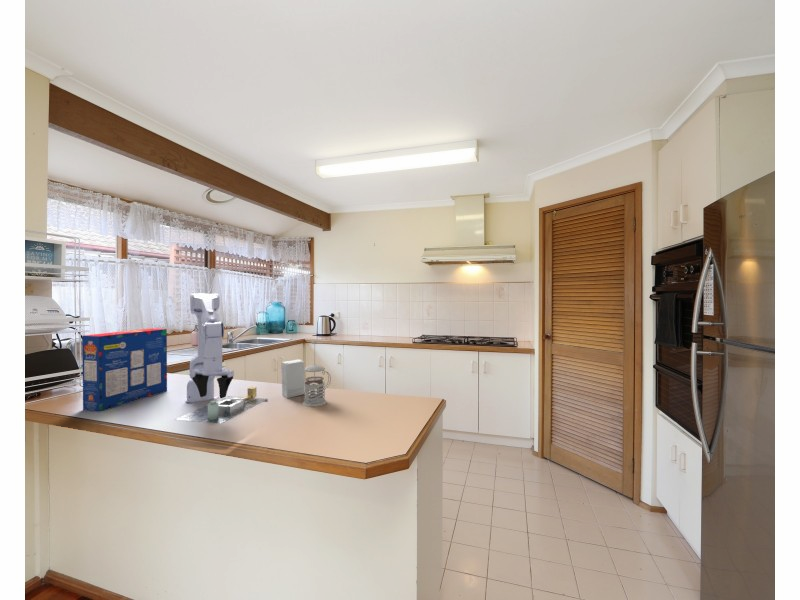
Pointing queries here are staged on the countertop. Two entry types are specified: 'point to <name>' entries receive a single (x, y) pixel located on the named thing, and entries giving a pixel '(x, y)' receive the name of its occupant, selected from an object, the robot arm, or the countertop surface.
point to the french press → (315, 386)
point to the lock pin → (251, 393)
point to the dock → (223, 409)
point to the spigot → (212, 410)
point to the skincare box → (293, 378)
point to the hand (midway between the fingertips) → (213, 396)
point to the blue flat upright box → (123, 367)
